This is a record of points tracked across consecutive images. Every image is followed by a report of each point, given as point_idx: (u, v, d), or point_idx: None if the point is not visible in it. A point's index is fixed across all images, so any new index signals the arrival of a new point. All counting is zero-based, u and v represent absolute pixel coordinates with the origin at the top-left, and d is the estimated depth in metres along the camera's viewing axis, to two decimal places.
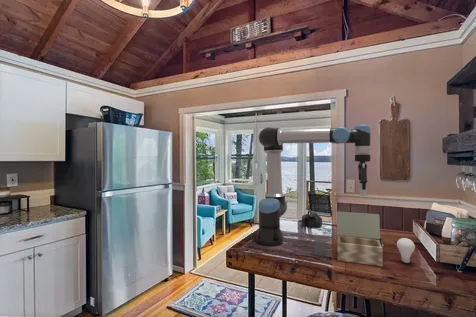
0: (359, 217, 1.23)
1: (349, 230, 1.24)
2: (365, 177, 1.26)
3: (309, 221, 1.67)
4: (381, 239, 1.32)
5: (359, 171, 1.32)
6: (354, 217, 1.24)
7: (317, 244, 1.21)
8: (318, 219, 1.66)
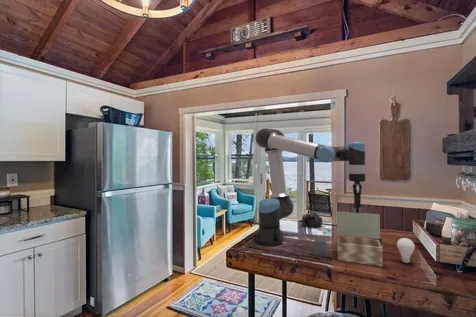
0: (359, 217, 1.23)
1: (349, 230, 1.24)
2: (359, 203, 1.22)
3: (309, 221, 1.67)
4: (381, 239, 1.32)
5: None
6: (354, 217, 1.24)
7: (317, 244, 1.21)
8: (318, 219, 1.66)
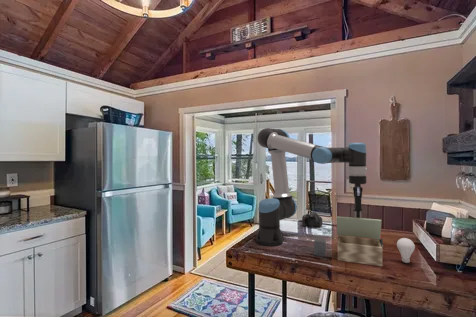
0: (360, 222, 1.18)
1: (349, 232, 1.22)
2: (359, 206, 1.17)
3: (309, 221, 1.67)
4: (381, 239, 1.32)
5: (354, 196, 1.20)
6: (355, 222, 1.19)
7: (317, 244, 1.21)
8: (318, 219, 1.66)
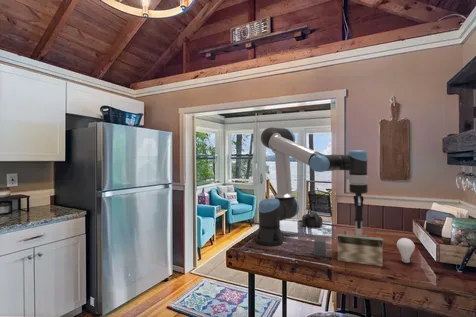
0: None
1: None
2: (360, 216, 1.12)
3: (309, 221, 1.67)
4: None
5: None
6: None
7: (317, 244, 1.21)
8: (318, 219, 1.66)
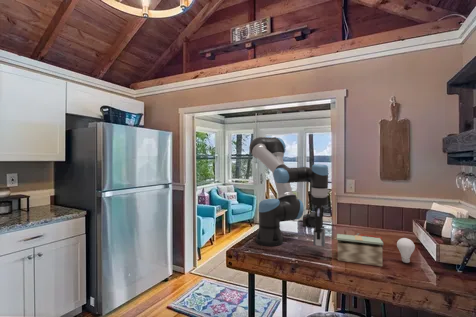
0: None
1: None
2: (319, 227, 1.18)
3: (309, 221, 1.68)
4: None
5: (315, 216, 1.22)
6: None
7: None
8: None
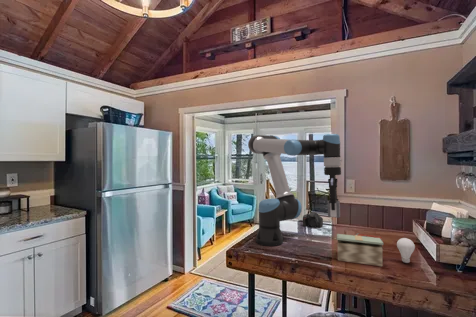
0: None
1: None
2: (333, 197, 1.14)
3: (310, 221, 1.68)
4: None
5: None
6: None
7: None
8: (319, 219, 1.67)
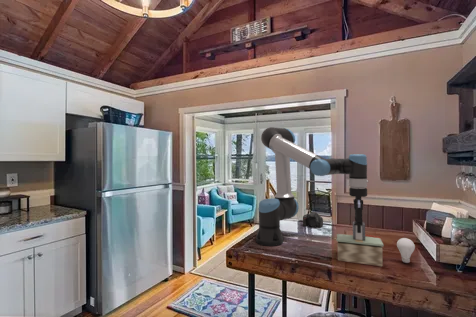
0: None
1: None
2: (360, 220, 1.11)
3: (310, 221, 1.68)
4: None
5: None
6: None
7: None
8: (319, 219, 1.67)
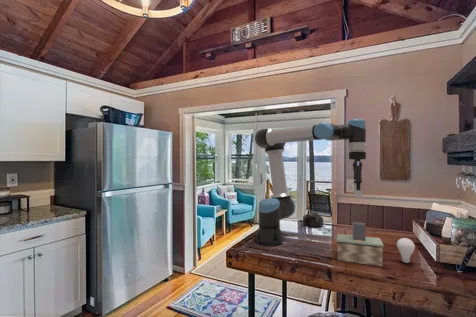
0: None
1: None
2: (359, 176, 1.14)
3: (310, 221, 1.68)
4: None
5: None
6: None
7: (356, 227, 1.15)
8: (319, 219, 1.67)
